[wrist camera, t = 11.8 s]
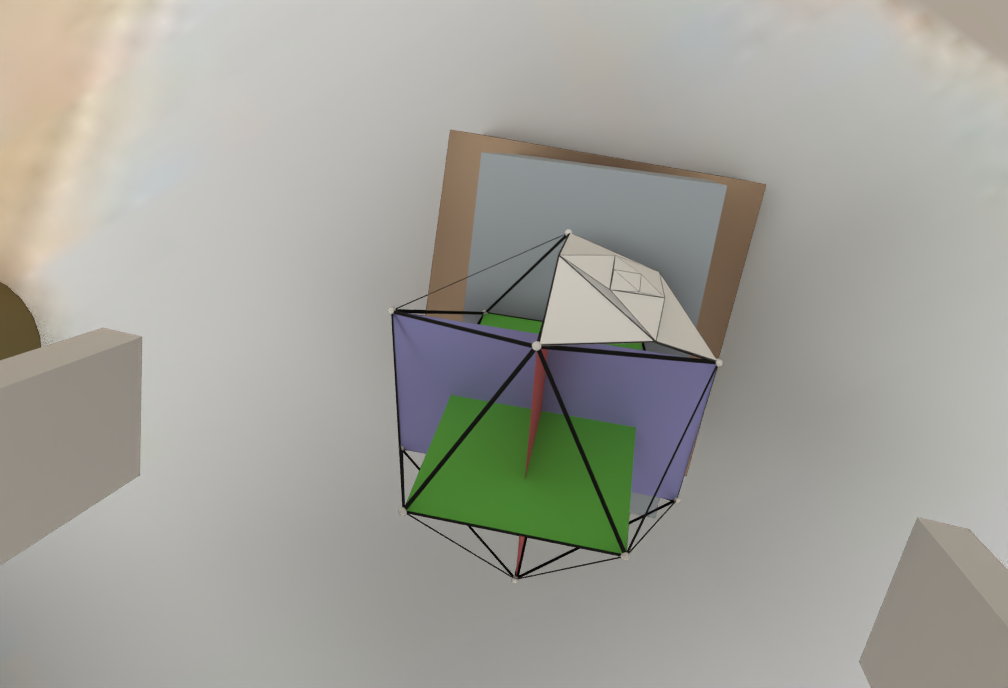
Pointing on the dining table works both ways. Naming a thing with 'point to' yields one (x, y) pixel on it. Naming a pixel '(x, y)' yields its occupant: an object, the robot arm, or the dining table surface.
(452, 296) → the tower base block
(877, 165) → the dining table surface
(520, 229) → the tower top block
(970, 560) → the robot arm
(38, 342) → the cork
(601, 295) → the geometric puzzle
